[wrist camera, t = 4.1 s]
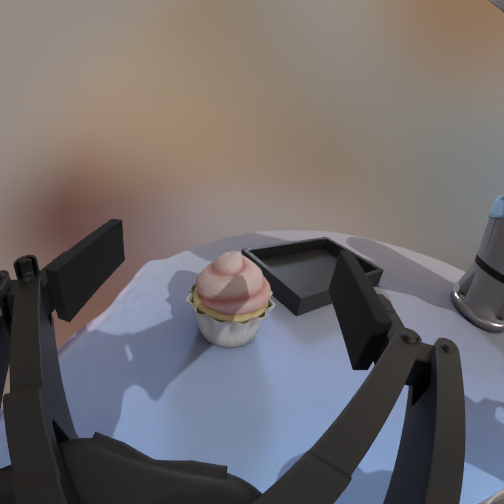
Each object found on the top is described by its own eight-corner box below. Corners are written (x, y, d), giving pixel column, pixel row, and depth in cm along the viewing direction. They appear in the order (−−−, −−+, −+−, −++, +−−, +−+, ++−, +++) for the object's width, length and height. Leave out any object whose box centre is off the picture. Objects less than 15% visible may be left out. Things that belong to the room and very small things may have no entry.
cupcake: (261, 368, 26) (280, 285, 22) (174, 345, 27) (170, 262, 23) (273, 314, 34) (288, 242, 30) (202, 298, 35) (206, 226, 31)
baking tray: (323, 249, 55) (326, 236, 54) (378, 283, 45) (383, 270, 44) (240, 264, 45) (241, 248, 44) (296, 316, 34) (301, 298, 33)
